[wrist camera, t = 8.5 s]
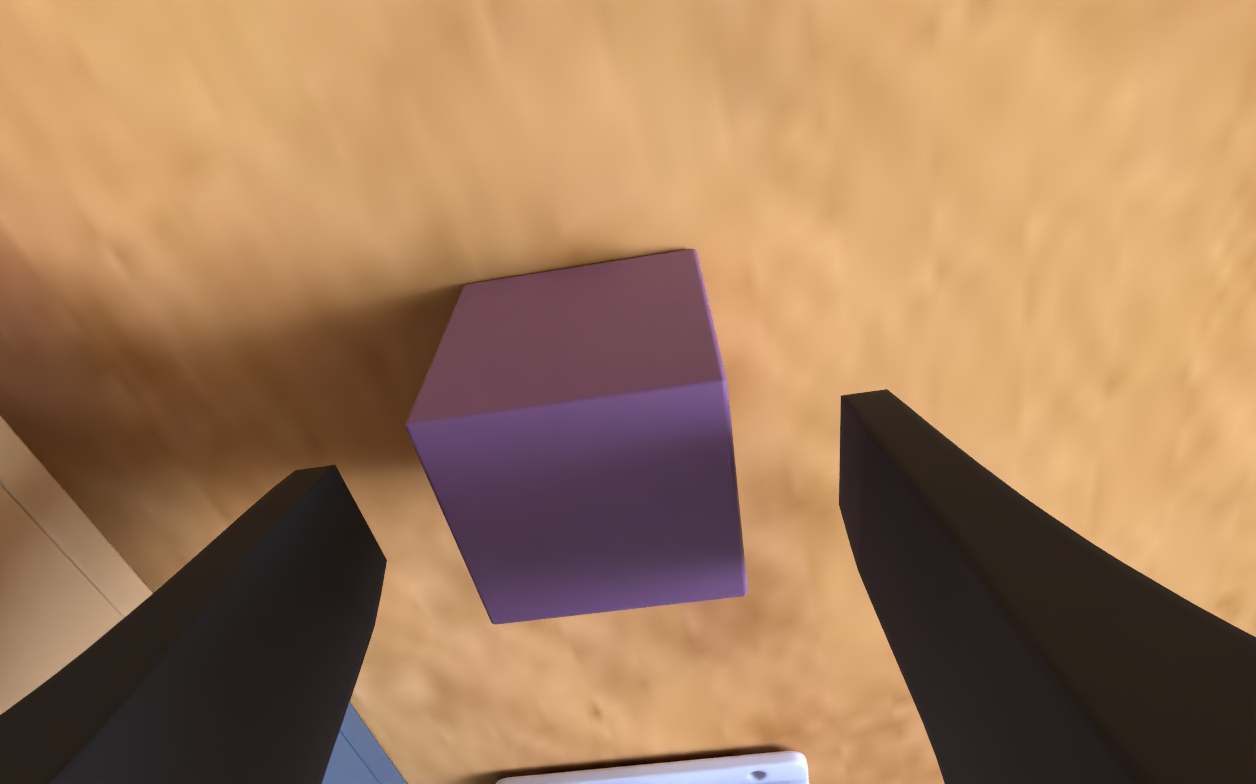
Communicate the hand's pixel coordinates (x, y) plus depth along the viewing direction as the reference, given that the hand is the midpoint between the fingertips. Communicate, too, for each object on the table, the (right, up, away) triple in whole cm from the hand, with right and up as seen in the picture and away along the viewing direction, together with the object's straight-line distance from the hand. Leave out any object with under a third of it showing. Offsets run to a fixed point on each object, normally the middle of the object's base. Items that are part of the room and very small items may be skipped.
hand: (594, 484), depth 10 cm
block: (0, +2, +3) cm, 3 cm away
